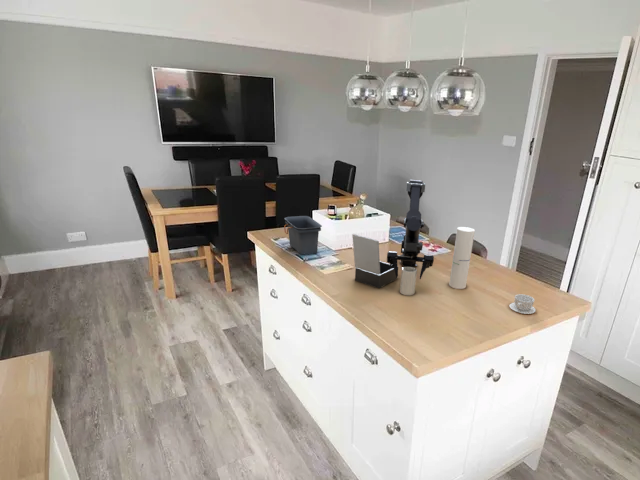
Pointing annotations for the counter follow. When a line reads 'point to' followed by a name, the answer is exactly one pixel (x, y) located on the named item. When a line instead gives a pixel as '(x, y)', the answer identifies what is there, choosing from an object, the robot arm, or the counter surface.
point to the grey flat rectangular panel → (366, 254)
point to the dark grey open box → (376, 276)
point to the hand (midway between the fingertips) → (408, 278)
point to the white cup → (408, 280)
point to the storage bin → (303, 234)
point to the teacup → (523, 304)
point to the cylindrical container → (461, 257)
